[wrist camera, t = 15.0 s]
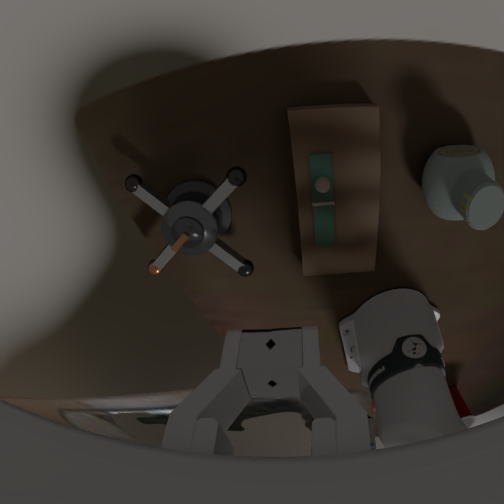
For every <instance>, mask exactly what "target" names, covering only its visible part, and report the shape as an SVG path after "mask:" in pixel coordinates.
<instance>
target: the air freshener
mask: <svg viewBox="0 0 504 504" xmlns="http://www.w3.org/2000/svg"><path fill="white" fill-rule="evenodd" d="M422 191H423V196H424V198H425V201H426V203H427V205H428V207H429V208H430V210H431V211H432V212H433V213H434V214H435V215H437V216H438V217H439V218H442V219H446V220H466V222H467V223H468V224H469V225H470V226H471V227H472V228H474V229H476V230H485V229H488V228H490V227H491V226H493V225H494V224H495V223H496V222H497V221H498V220H499V219H500V217H501V215H502V213H503V211H504V193H503V189H502V188H501V186H500V185H499V184H497V183H496V182H495V174H494V168H493V165H492V162H491V160H490V158H489V156H488V155H487V153H486V152H485V151H484V150H483V149H482V148H480V147H478V146H473V145H450V146H445V147H441V148H438V149H436V150H435V151H434V152H433V153H432V154H431V156H430V157H429V159H428V160H427V162H426V165H425V167H424V171H423V175H422Z"/></svg>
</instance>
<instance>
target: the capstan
mask: <svg viewBox="0 0 504 504" xmlns="http://www.w3.org/2000/svg"><path fill="white" fill-rule="evenodd" d="M246 178H247V175H246V172H245V170H244V169H243V168H241V167H232V168H231V169H229V170H228V172H227V175H226V178H225V179H224V180H223V181H222V182H221V183H220V184H219V186H218V187H217V188H216V189H215V190H214V191H213V192H212V193H211V194H210V196H208V195H206V194H204V193H201V192H195V191H191V192H186V193H183V194H181V195H179V196H178V197H177V198H176V199H175V200H174V201H173V203H172V202H171V201H169V200H168V199H167V198H165V197H164V196H163V195H162V194H160V193H159V192H158V191H156V190H155V189H154V188H152V187H151V186H150V185H149V184H147V183H146V182H145V181H143V180H142V178H141V177H140V176H139V175H136V174H132V175H129V176H128V177H127V178H126V180H125V187H126V189H127V190H128V191H129V192H132V193H134V194H135V195H136V196H137V197H139V198H140V199H141V200H143V201H144V202H145V203H147V204H148V205H149V206H150V207H152V208H153V209H154V210H156V211H157V212H158V213H160V214H161V215H162V216H163V215H164V216H163V218H162V221H161V232H162V235H163V237H164V239H165V241H166V242H167V243H168V244H167V245H166V246H165V248H164V249H163V250H162V251H161V252H160V254H159V255H158V256H157V257H156V258H155V259H153V260H151V261H150V262H149V264H148V270H149V272H150V273H151V274H153V275H159V274H160V273H161V272H162V271H163V267H164V266H165V265H166V264H167V262H168V261H169V260H170V259H171V258H172V257H173V256H174V254H175V253H176V252H177V251H178V252H181V253H183V254H187V255H199V254H203V253H205V252H207V251H208V250H209V251H210V252H211V253H213V254H214V255H216V256H217V257H218V258H220V259H221V260H222V261H224V262H225V263H226V264H228V265H229V266H230V267H232V268H233V269H235V270H236V271H237V272H238V273H239V274H240V275H241V276H249V275H251V274H252V272H253V270H254V266H253V264H252V262H251V261H249V260H247V259H245V258H244V257H243V256H241V255H240V254H239V253H237V252H236V251H235V250H233V249H232V248H231V247H229V246H228V245H227V244H225V243H224V242H223V241H222V240H220V239H219V238H218V237H217V236H218V233H219V230H220V227H221V224H222V212H221V209H220V207H219V205H220V204H221V203H222V202H223V201H224V200H225V199H226V198H227V197H228V196H229V195H230V193H231V192H232V191H233V190H234V189H235V188H236V187H237V186H241V185H243V184H244V183H245V181H246Z"/></svg>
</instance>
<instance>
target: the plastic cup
mask: <svg viewBox="0 0 504 504" xmlns="http://www.w3.org/2000/svg"><path fill="white" fill-rule="evenodd" d="M448 388H449V391H450V394H451V396H452V399H453V402H454V404H455V407H456V410H457V412H458V414H459V416H460V418H461V420H462V421H463V423H464V424H465V425H466V427H467V428H469V427H470V426H472V425H473V423H474V422H475V420H476V418H475V416H473V415H472V414H471V412H470V411H469V409H468V407H467V405H466V403H465V402H464V400H463V398H462V396H461V395H460V393H459V391H458V389H457V388H456V387H454V386H453V387H448Z"/></svg>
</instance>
